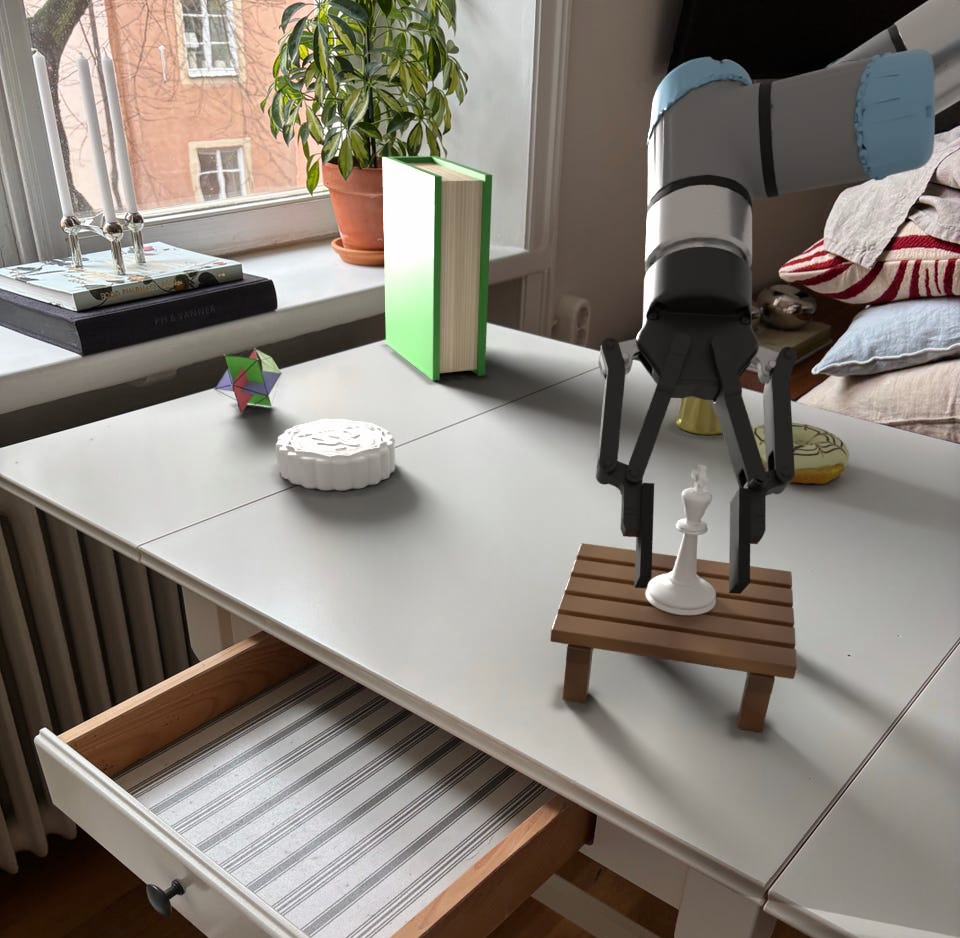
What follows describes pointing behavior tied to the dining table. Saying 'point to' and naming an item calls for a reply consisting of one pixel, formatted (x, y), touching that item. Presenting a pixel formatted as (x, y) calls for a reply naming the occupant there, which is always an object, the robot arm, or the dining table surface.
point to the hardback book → (436, 262)
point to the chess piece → (686, 559)
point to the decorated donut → (811, 453)
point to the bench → (678, 624)
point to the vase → (698, 417)
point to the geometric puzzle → (249, 379)
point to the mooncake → (335, 454)
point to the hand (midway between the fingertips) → (691, 584)
